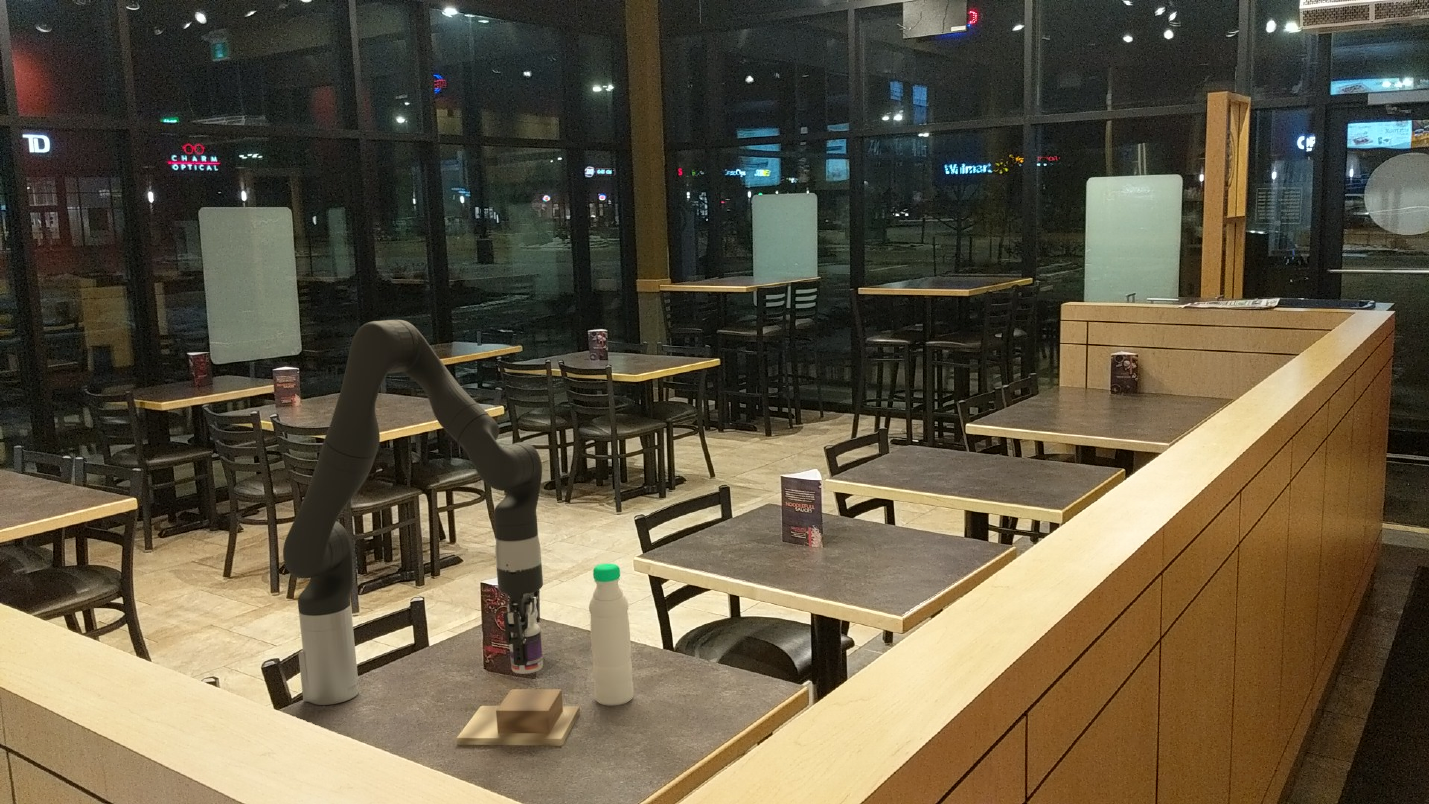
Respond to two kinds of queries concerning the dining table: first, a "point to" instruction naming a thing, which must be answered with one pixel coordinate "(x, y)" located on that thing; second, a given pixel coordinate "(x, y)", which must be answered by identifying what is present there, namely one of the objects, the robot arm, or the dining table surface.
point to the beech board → (486, 733)
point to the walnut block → (529, 711)
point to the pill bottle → (530, 649)
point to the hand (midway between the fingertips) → (526, 657)
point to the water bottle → (610, 638)
